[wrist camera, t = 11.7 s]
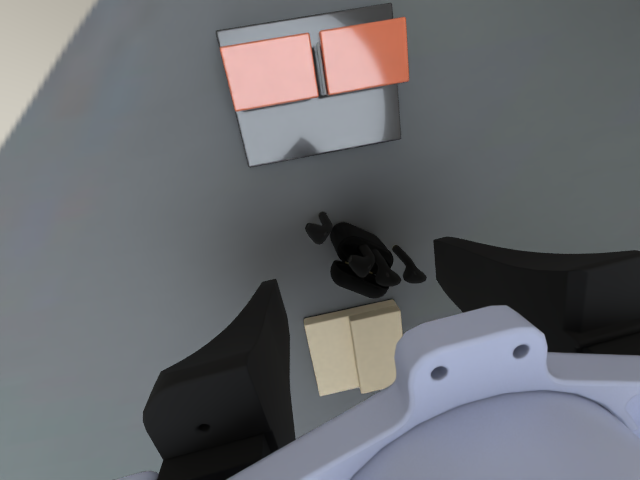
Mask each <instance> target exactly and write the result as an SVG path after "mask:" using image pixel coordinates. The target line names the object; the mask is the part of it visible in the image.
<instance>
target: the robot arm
mask: <svg viewBox="0 0 640 480" xmlns="http://www.w3.org/2000/svg"><path fill="white" fill-rule="evenodd" d="M433 241H434V254H435V267H436V280H437V281H438V283H439V284H440V286H441V287H442V289H443V290H444V291H445V293H446V294H447V296H448V297H449V298H450V299H451V300H452V301H453V302H454V303H455V304H456V305H457V306H458V307H459V308H460V309H461V311H462V312H463V313H460V314H457V315H453V316H449V317H445V318H441V319H437V320H433V321H429V322H426V323H422V324H420V325H418V326H416V327H414V328H412V329H410V330H408V331H406V333H405V334H404V335H403V336H402V338H401V339H400V340H399V341H398V342H397V344H396V350H395V355H394V360H395V366H396V379H395V381H394V382H393V384H392V385H390V386H388V387H387V388H385V389H383V390H381V391H380V392H378V393H376V394H374V395H373V396H371V397H369V398H367V399H366V400H364V401H362V402H360V403H359V404H357V405H355V406H354V407H352V408H350V409H348V410H347V411H345V412H343V413H341V414H340V415H338V416H336V417H334V418H333V419H331V420H329V421H327V422H326V423H324V424H322V425H320V426H319V427H317V428H315V429H313V430H312V431H310V432H308V433H306V434H305V435H303V436H301V437H299V438H298V439H295V431H294V422H293V413H292V404H291V394H290V379H289V376H290V334H289V326H288V319H287V314H286V311H285V307H284V304H283V301H282V297H281V294H280V290H279V287H278V283H277V280H276V279H272V280H268V281H264V282H262V283H261V285H260V286H259V288H258V289H257V291H256V292H255V294H254V295H253V297H252V298H251V299H250V301H249V302H248V304H247V305H246V306H245V307H244V309H243V310H242V311H241V312H240V314H239V315H238V316H237V317H236V318H235V319H234V321H233V322H232V323H231V324H230V325H229V326H228V327H227V328H226V329H225V330H223V331H222V332H221V333H220V334H219V335H218V336H216V337H215V338H214V339H213V340H211V341H210V342H209V343H208V344H206V345H205V346H204V347H202V348H201V349H199V350H198V351H196V352H195V353H193V354H192V355H190V356H189V357H187V358H185V359H184V360H182V361H180V362H178V363H176V364H174V365H173V366H171V367H169V368H167V369H165V370H163V371H161V373H160V375H159V377H158V379H157V381H156V383H155V385H154V387H153V390H152V392H151V394H150V397H149V399H148V401H147V404H146V406H145V409H144V411H143V423H144V426H145V429H146V431H147V433H148V434H149V436H150V438H151V440H152V441H153V443H154V445H155V447H156V448H157V450H158V452H159V453H160V455H161V457H162V459H163V463H162V466H161V469H160V472H159V474H158V473H157V472H154V471H144V472H140V473H136V474H132V475H129V476H125V477H121V478H118V479H114V480H640V251H637V250H633V251H621V252H610V253H594V254H553V253H537V252H527V251H519V250H512V249H506V248H501V247H495V246H490V245H486V244H481V243H477V242H472V241H468V240H464V239H459V238H454V237H443V238H439V239H435V240H433Z"/></svg>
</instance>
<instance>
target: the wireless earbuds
mask: <svg viewBox="0 0 640 480" xmlns="http://www.w3.org/2000/svg"><path fill="white" fill-rule="evenodd" d="M319 218H320V221H321V223H322V225H317V224H312V223H308V224H307V225H306V227H305V230H306V232H307V234H308V235H309V237H310V238H311V239H312V240H313V241H314V242H315V243H316V244H319V245H320V244H322V243H323V242H324V241H325V240H326V238H327V237H328V235H329V234H330V232H331V234H330V238H331V241H332V243H333V246H334V248H335V250H336V252H337V254H338V256H339V258H340V259H341V260H342V261H343V262H342V261H338V260H335V261H334V262H333V264H332V266H331V271H330V272H331V277H332V279H333V281H334V282H335V283H336V284H337V285H339V286H341V287H343V288H346V289H349V290H351V291H354V292H356V293H359V294H361V295H364V296H367V297H369V298H379V297H381V296H383V295H384V294H385V293H386V292H387V290H388V289H389V286H395V285H398V284H399V283H400V282H401V278H400V276H399V275H398V274H396V273H395V272H394V271H392V270H391V269H390V268H391V266H392V264H393V256H392V254H391V252H390V251H389V250H388V249H387V248H386V246H385V245H384V244H383V243H382V242H381V241H380V239H379V238H378V237H377V236H375V235H374V234H371V233H369V232H367V231H365V230H363V229H360V228H358V227H356V226H354V225H352V224H349V223H345V222H342V223H338V224H336V225H335V226H334V227H333V228H332V223H331V221H330V220H329V218H328V216H327V214H326V213H325V212H321V213H320V214H319ZM392 250H393V252H394V253H395V254H396V255H397V256H398V257H399V258H400V260H401V261H402V262H403V263H404V264H405V265H406V269H405V271H404V273H403V278H404V280H405V281H407V282H409V283H422V282H424V281H425V280H426V278H427V277H426V275H425V274H424V273H423V272H421V271H420V270H419V269H418V268H417V267H416V266H415V264H414V262H413V261H412V259H411V258H410V257H409V256H408V255H407V254H406V253H405V252H404V251H403V250H402V249H401V248H400V247H399V246H398V245H394V246H393V248H392Z"/></svg>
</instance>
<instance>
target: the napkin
mask: <svg viewBox="0 0 640 480" xmlns="http://www.w3.org/2000/svg"><path fill="white" fill-rule="evenodd" d="M304 327H305V331H306V336H307V340H308V345H309V349H310V354H311V358H312V363H313V367H314V372H315V376H316V381H317V385H318V390H319V394H320V396H324V395H328V394H332V393H337V392H341V391H345V390H349V389H354V388H358V387H360V390H361V393H362V394H364V393H368V392H372V391H376V390H381V389H385V388H387V387H388V386H390V385H392V384H393V382H394V381H395V379H396V366H395V360H394V355H395V350H396V344H397V342H398V341H399V340H400V339H401V338H402V336H403V333H402V321H401V311H400V309H399V308H398V306H397V305H396V303H395V301H394V300H393V299H391V300H387V301H382V302H378V303H373V304H369V305H364V306H360V307H355V308H350V309H346V310H341V311H337V312H332V313H328V314H323V315H319V316H314V317H309V318H305V319H304Z"/></svg>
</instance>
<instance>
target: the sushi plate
mask: <svg viewBox="0 0 640 480" xmlns="http://www.w3.org/2000/svg"><path fill="white" fill-rule="evenodd" d="M216 36H217V40H218V44H219V48H220V52H221V56H222V61H223V65H224V69H225V73H226V77H227V81H228V85H229V89H230V93H231V97H232V101H233V105H234V110H235V113H236V117H237V121H238V125H239V129H240V134H241V138H242V142H243V146H244V150H245V154H246V158H247V162H248V166H249V167H255V166H260V165H266V164H271V163H276V162H282V161H287V160H292V159H298V158H303V157H308V156H314V155H319V154H324V153H330V152H335V151H340V150H346V149H351V148H356V147H362V146H367V145H372V144H378V143H383V142H388V141H394V140H399V139H401V129H400V114H399V100H398V85H397V84H399V83H404V82H408V81H409V67H408V49H407V31H406V18H405V17H400V18H394V19H393V12H392V3H386V4H380V5H373V6H367V7H361V8H355V9H348V10H342V11H336V12H330V13H323V14H317V15H311V16H305V17H298V18H292V19H286V20H279V21H273V22H267V23H261V24H254V25H248V26H242V27H236V28H229V29H223V30H217V31H216Z"/></svg>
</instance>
